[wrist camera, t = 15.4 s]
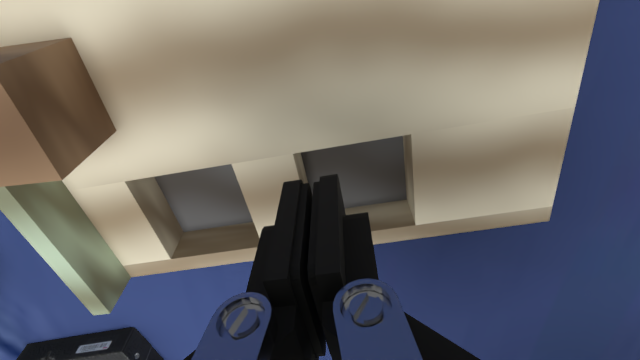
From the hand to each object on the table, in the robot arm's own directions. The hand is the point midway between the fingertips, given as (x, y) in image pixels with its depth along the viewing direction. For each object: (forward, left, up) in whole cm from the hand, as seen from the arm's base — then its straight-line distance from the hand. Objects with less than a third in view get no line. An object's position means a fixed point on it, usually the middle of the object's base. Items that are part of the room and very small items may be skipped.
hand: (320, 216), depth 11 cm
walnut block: (+4, +11, -6) cm, 13 cm away
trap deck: (0, +1, -8) cm, 8 cm away
